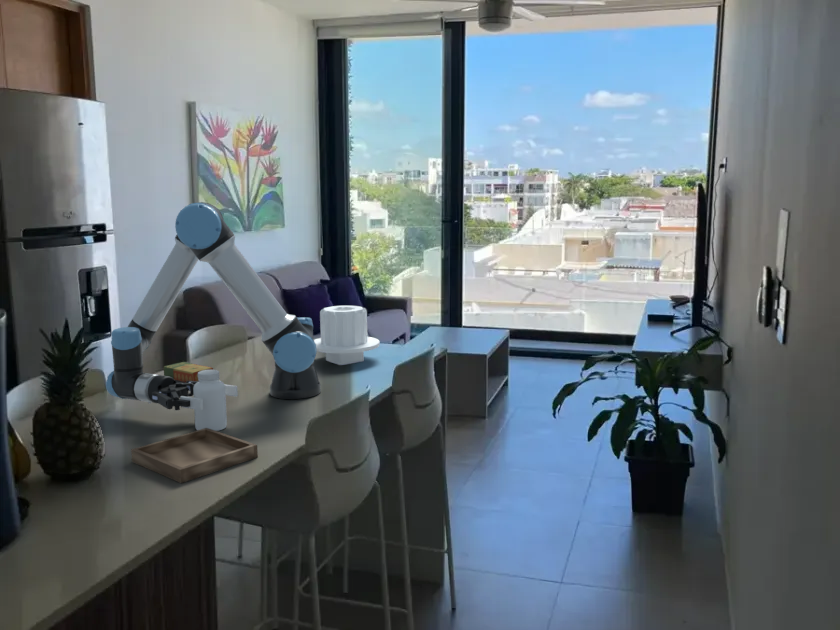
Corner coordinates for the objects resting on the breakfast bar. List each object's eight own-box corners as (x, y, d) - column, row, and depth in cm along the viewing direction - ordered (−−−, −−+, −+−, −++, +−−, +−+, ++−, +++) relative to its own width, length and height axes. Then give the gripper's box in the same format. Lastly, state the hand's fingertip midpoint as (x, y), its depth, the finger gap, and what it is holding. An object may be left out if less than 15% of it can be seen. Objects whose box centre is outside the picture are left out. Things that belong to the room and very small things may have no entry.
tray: (207, 439, 188) (206, 427, 188) (257, 457, 176) (257, 444, 175) (132, 461, 173) (131, 449, 173) (181, 483, 160) (180, 469, 160)
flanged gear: (354, 350, 289) (353, 301, 286) (393, 361, 270) (392, 309, 266) (296, 360, 273) (294, 308, 270) (333, 373, 254) (332, 317, 251)
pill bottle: (215, 434, 192) (212, 376, 190) (189, 431, 195) (185, 374, 192) (233, 424, 200) (230, 369, 197) (207, 422, 202) (203, 367, 200)
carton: (192, 385, 241) (192, 372, 241) (163, 378, 251) (162, 365, 250) (214, 379, 248) (213, 367, 247) (184, 373, 258) (184, 360, 257)
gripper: (189, 391, 215) (250, 399, 206) (121, 415, 193) (186, 425, 184) (188, 365, 214) (249, 372, 205) (119, 386, 192) (184, 395, 183)
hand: (219, 397), depth 194 cm, fingers open, 13 cm apart
